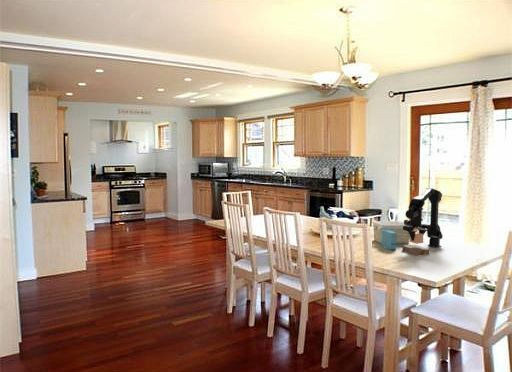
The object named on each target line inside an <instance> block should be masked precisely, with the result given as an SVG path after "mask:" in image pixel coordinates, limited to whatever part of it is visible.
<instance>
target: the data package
mask: <svg viewBox="0 0 512 372" xmlns="http://www.w3.org/2000/svg"><path fill="white" fill-rule="evenodd" d="M380 245H381V247H382V248H384V249H387V250H389V251H391V250H393V251H394V250H397V234H396V232H393V231H390V230H382V237H381V243H380Z"/></svg>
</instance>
